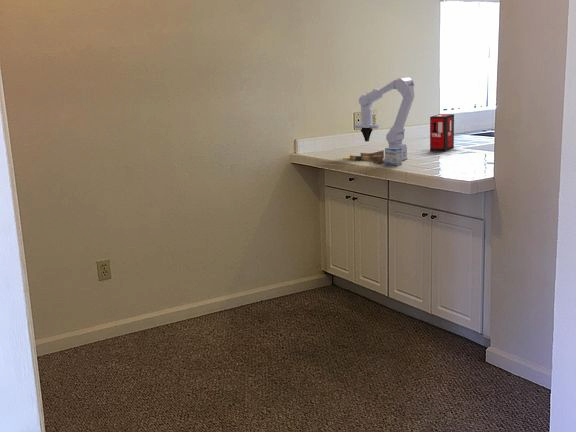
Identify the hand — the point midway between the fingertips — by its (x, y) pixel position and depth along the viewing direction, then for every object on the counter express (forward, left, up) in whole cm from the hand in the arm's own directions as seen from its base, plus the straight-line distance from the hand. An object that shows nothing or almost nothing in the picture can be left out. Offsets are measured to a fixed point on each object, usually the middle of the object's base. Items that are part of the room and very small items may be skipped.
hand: (366, 141), depth 359 cm
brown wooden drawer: (-5, +8, -9) cm, 13 cm away
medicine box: (-26, +16, -10) cm, 32 cm away
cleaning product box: (-24, -44, -10) cm, 51 cm away
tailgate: (+2, +8, -9) cm, 12 cm away
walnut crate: (-16, +15, -10) cm, 24 cm away
